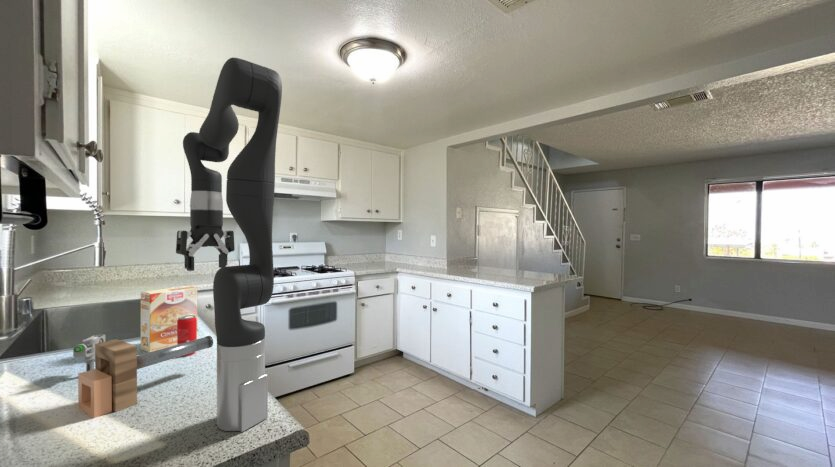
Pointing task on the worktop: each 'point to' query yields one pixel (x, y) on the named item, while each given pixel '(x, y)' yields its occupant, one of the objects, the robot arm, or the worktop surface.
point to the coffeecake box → (164, 315)
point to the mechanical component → (88, 350)
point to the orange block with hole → (95, 393)
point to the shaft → (173, 352)
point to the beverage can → (186, 330)
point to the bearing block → (119, 370)
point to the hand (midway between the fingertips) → (207, 269)
